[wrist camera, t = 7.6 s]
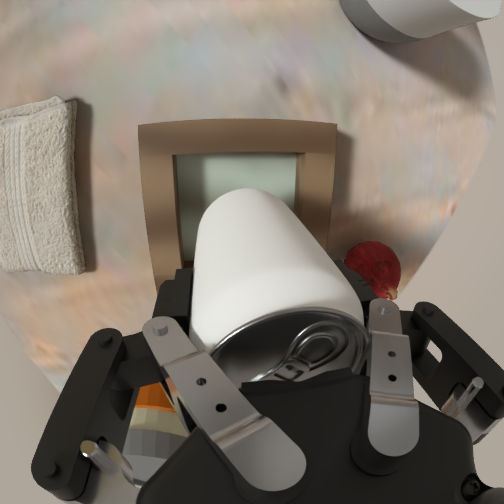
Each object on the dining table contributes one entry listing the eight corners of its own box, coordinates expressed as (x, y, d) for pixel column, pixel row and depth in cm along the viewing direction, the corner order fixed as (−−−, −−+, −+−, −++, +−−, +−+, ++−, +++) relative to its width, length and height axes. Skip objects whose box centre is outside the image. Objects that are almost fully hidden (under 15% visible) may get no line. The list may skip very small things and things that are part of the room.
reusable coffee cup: (213, 399, 37) (221, 491, 24) (131, 397, 36) (119, 485, 22) (208, 339, 32) (214, 457, 19) (107, 337, 30) (76, 443, 17)
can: (312, 227, 19) (410, 347, 9) (251, 291, 21) (286, 438, 10) (241, 165, 17) (294, 247, 6) (178, 241, 19) (148, 392, 8)
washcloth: (82, 92, 19) (67, 90, 16) (92, 269, 27) (82, 284, 24) (-5, 113, 17) (-22, 115, 14) (13, 265, 25) (0, 278, 22)
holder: (148, 124, 21) (137, 125, 18) (321, 122, 23) (337, 123, 20) (163, 279, 28) (158, 299, 25) (309, 271, 30) (320, 289, 26)
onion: (322, 268, 30) (352, 314, 22) (349, 221, 28) (390, 256, 20) (360, 283, 31) (394, 326, 24) (387, 241, 29) (429, 277, 22)
